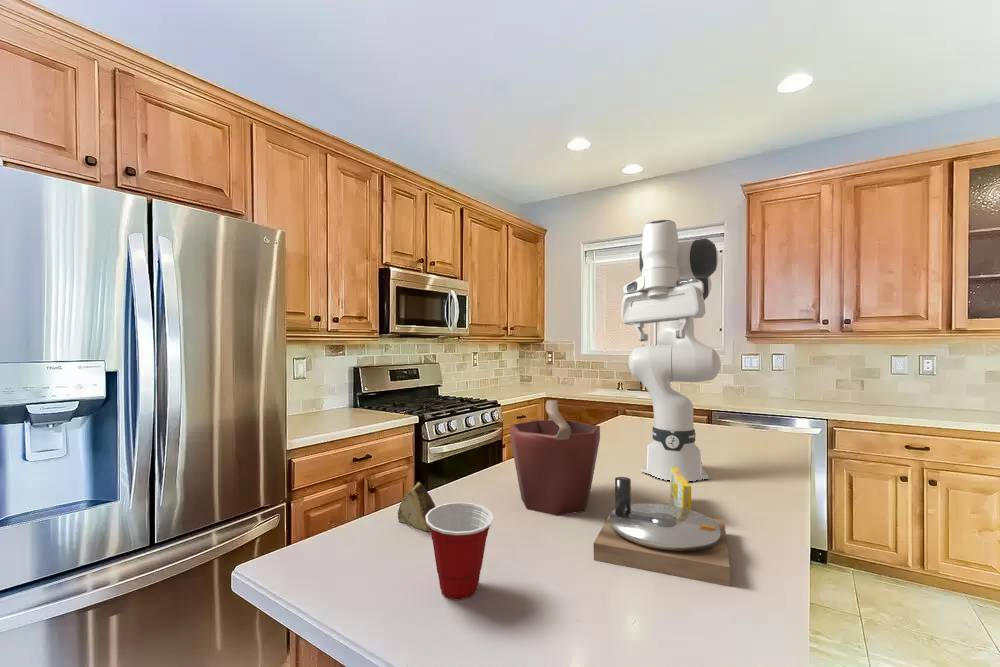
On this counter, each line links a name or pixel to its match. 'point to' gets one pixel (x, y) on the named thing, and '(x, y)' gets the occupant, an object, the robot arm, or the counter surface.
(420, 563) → the counter surface
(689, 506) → the candy box
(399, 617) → the counter surface
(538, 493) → the bucket
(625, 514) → the handwheel
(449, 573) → the plastic cup
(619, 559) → the walnut base
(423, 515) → the rock
